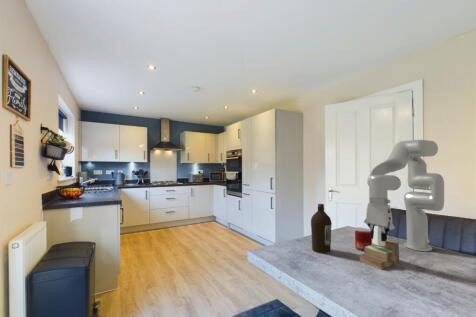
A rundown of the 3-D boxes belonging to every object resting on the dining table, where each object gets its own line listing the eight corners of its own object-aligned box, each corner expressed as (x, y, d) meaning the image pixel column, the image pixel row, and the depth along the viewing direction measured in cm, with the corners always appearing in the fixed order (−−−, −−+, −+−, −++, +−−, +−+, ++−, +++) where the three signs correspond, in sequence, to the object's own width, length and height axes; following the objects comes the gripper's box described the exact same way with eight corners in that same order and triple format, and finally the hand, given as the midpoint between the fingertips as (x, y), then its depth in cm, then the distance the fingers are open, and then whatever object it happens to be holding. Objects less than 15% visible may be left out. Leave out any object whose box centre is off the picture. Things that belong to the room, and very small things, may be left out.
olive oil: (307, 250, 123) (307, 203, 125) (316, 245, 131) (316, 202, 132) (326, 255, 116) (325, 206, 117) (335, 250, 123) (334, 204, 124)
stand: (377, 255, 116) (377, 236, 117) (400, 263, 107) (400, 243, 107) (359, 261, 109) (359, 241, 109) (382, 270, 100) (382, 248, 100)
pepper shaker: (380, 242, 111) (380, 219, 112) (388, 246, 106) (387, 222, 106) (369, 242, 111) (369, 219, 112) (377, 246, 106) (376, 222, 106)
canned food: (374, 252, 121) (373, 231, 121) (357, 251, 122) (357, 230, 123) (368, 247, 128) (368, 227, 129) (353, 246, 130) (353, 227, 130)
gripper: (401, 203, 104) (402, 243, 103) (366, 198, 118) (366, 234, 118) (392, 204, 100) (393, 246, 99) (357, 199, 115) (357, 236, 114)
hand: (378, 239), depth 109 cm, fingers closed on pepper shaker, 3 cm apart
